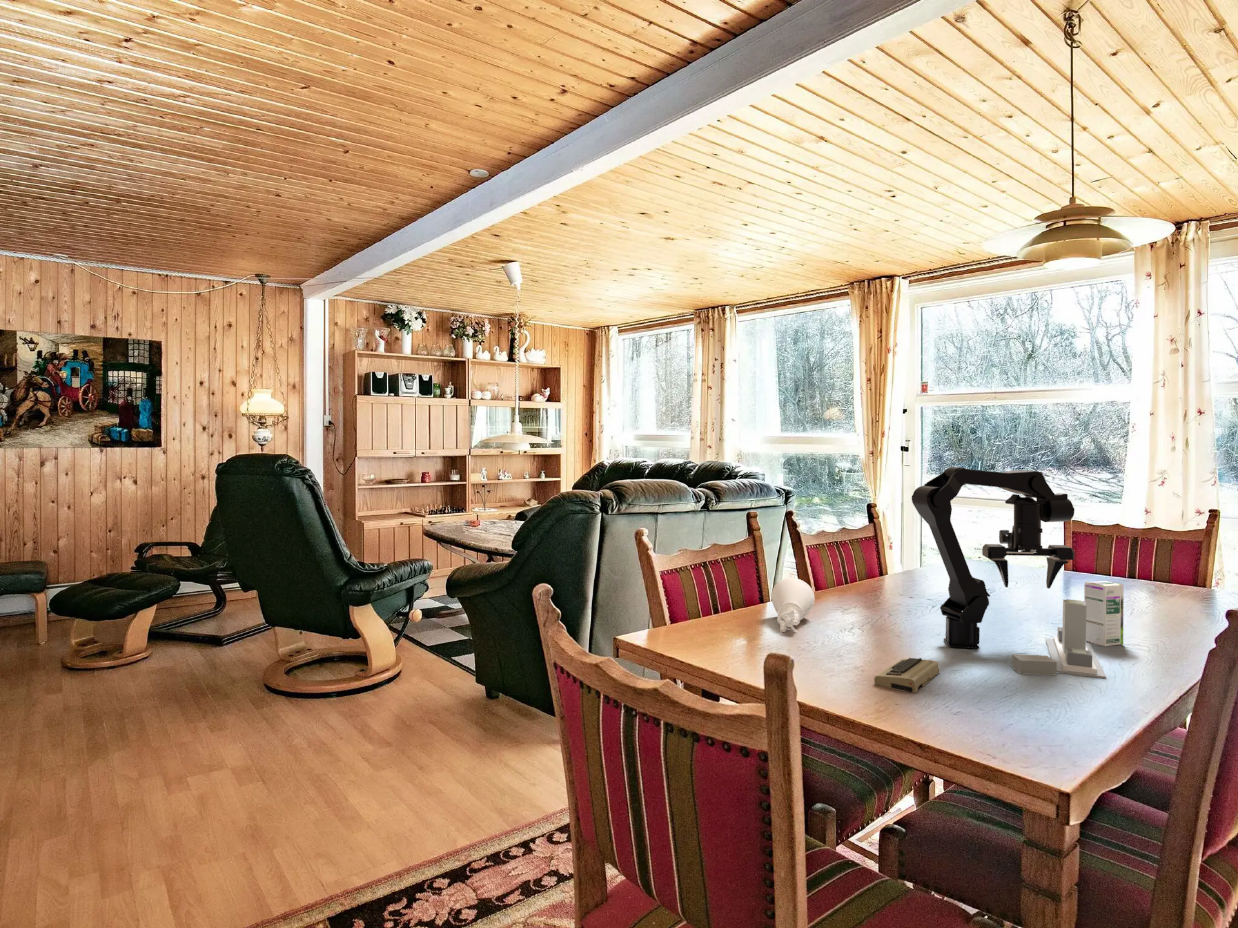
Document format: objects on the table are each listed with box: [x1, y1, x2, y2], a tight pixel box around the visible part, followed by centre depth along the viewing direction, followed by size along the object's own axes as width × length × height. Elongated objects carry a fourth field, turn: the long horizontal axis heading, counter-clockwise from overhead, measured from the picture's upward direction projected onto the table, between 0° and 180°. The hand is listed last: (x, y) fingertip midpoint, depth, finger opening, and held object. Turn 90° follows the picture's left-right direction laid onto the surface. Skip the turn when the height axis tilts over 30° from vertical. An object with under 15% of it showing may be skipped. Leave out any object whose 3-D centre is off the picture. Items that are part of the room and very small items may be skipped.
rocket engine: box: [770, 577, 816, 633], centre depth 194 cm, size 12×12×18 cm
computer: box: [874, 657, 940, 694], centre depth 150 cm, size 16×8×3 cm, turn 141°
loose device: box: [1011, 653, 1058, 676], centre depth 155 cm, size 7×4×3 cm, turn 82°
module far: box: [1056, 626, 1063, 642], centre depth 174 cm, size 4×4×3 cm
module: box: [1062, 598, 1087, 653], centre depth 165 cm, size 4×5×11 cm
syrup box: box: [1083, 580, 1125, 647], centre depth 177 cm, size 6×6×14 cm
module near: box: [1066, 648, 1092, 668], centre depth 156 cm, size 4×4×3 cm
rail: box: [1045, 635, 1107, 679], centre depth 165 cm, size 9×28×1 cm, turn 153°
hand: (1027, 587), depth 177 cm, fingers open, 9 cm apart
